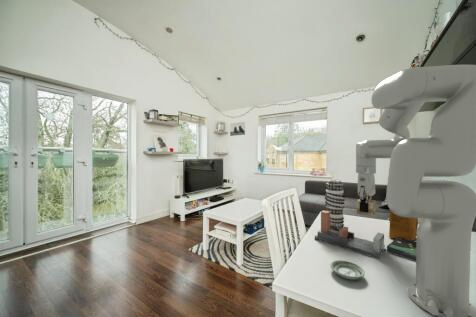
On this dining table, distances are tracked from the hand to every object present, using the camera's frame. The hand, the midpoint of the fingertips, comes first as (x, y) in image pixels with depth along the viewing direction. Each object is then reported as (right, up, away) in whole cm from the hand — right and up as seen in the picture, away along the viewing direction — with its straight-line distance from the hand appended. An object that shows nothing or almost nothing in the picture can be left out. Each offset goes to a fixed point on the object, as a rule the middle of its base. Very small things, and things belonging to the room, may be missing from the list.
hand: (365, 210), depth 89 cm
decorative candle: (-8, -13, +12) cm, 20 cm away
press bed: (-10, -13, -3) cm, 17 cm away
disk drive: (+11, -14, -10) cm, 20 cm away
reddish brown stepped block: (-14, -12, +1) cm, 18 cm away
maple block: (0, -2, 0) cm, 2 cm away
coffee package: (+19, -13, +2) cm, 23 cm away
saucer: (-22, -14, -25) cm, 36 cm away
